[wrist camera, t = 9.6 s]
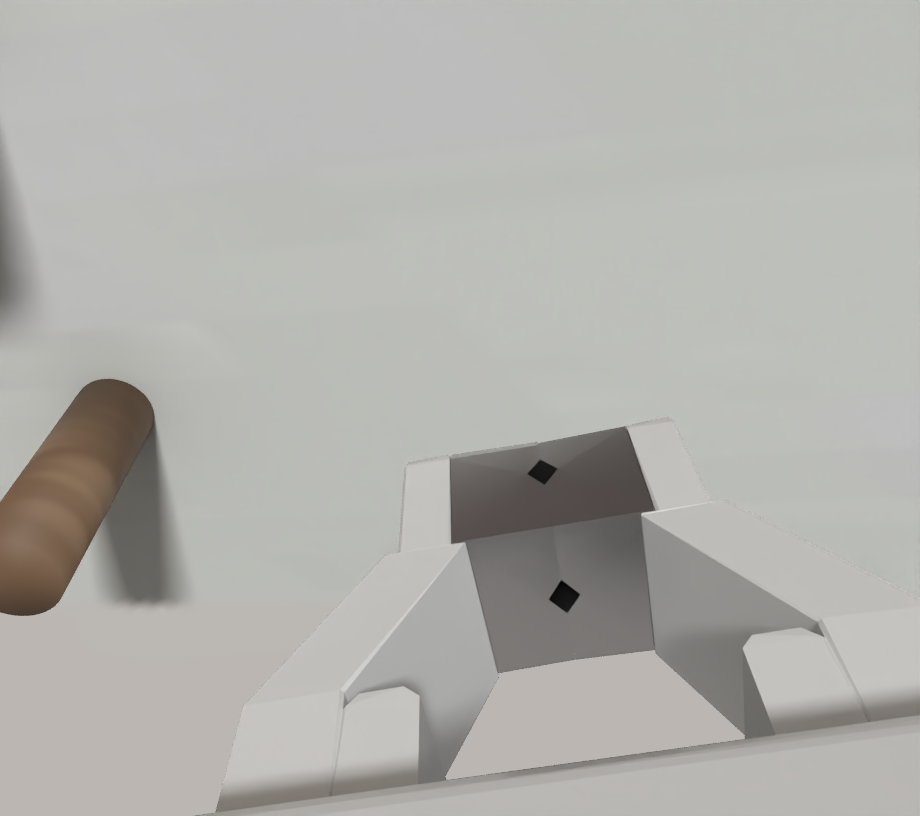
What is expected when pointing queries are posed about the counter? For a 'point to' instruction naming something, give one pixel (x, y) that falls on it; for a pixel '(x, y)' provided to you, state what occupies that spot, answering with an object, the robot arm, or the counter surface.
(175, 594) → the counter surface
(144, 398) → the post
